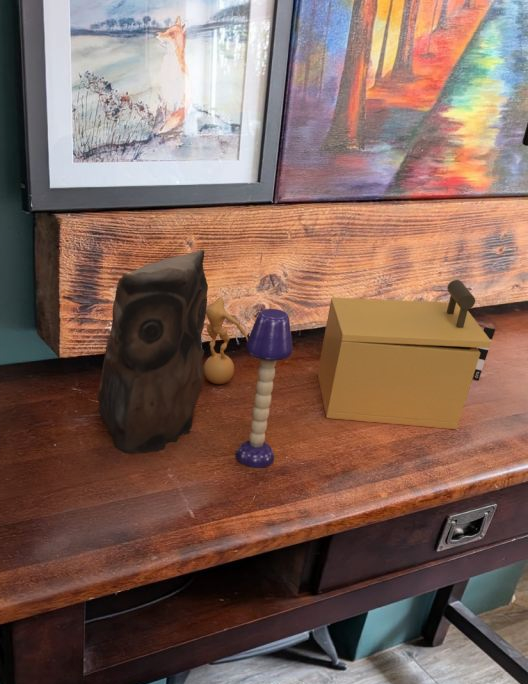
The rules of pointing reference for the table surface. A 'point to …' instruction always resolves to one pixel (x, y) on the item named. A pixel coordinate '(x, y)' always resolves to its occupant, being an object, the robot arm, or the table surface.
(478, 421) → the table surface
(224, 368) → the figurine
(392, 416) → the chest
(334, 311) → the lid
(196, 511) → the table surface
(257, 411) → the toy lamp
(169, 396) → the owl
